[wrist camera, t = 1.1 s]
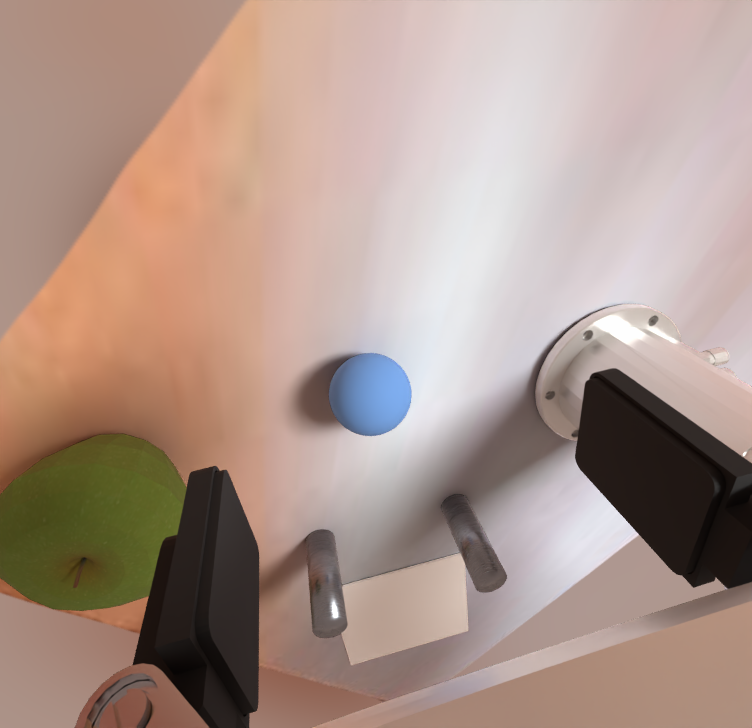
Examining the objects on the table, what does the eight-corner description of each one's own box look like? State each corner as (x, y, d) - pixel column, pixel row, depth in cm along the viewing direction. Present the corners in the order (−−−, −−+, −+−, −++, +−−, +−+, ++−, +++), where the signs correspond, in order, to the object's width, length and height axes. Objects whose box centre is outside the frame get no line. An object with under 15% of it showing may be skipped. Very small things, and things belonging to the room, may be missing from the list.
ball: (395, 332, 31) (417, 370, 27) (403, 397, 34) (424, 441, 29) (317, 348, 31) (326, 390, 26) (332, 413, 34) (342, 461, 29)
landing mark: (463, 551, 45) (464, 553, 45) (467, 629, 52) (468, 631, 52) (327, 589, 43) (327, 591, 43) (350, 663, 50) (350, 665, 50)
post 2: (467, 491, 41) (506, 566, 34) (468, 511, 42) (506, 587, 35) (440, 498, 40) (474, 575, 34) (442, 518, 42) (475, 595, 35)
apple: (236, 455, 34) (223, 568, 25) (147, 535, 36) (107, 666, 27) (102, 371, 29) (29, 478, 20) (6, 470, 30) (-98, 606, 22)
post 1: (331, 526, 39) (344, 612, 32) (337, 545, 41) (350, 632, 34) (302, 534, 39) (309, 622, 32) (309, 553, 40) (316, 641, 33)
